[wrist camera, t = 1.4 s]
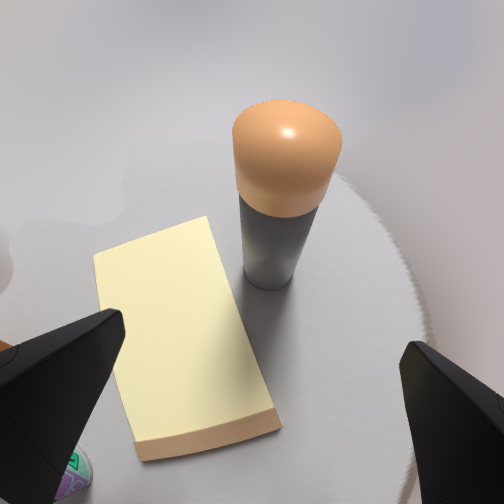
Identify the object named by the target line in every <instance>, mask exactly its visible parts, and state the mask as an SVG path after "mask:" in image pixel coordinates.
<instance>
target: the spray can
mask: <svg viewBox="0 0 504 504" xmlns="http://www.w3.org/2000/svg"><path fill="white" fill-rule="evenodd" d="M91 480H92V467H91V464H90V461H89V459H88V457H87V456H86V454H85V452H84V451H83V450H82V449H81V447H80V446H79V445H78V444H77V445H76V447H75V450H74V452H73V454H72V456H71V459H70V461H69V463H68V466H67V468H66V471H65V473H64V475H63V478H62V481H61V483H60V486H59V488H58V491H57V494H56V496H55V499H54V502H56V501H58V500H60V499H62V498H64V497H67V496H69V495H71V494H73V493H75V492H77V491H79V490H80V489H82V488H84V487H86V486H87V485H88V484H90V482H91ZM54 502H53V503H54Z"/></svg>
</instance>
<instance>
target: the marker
mask: <svg viewBox="0 0 504 504" xmlns="http://www.w3.org/2000/svg"><path fill="white" fill-rule="evenodd" d="M232 135H233V149H234V163H235V176H236V186H237V189H238V192H239V203H240V218H241V232H242V247H243V261H244V271H245V275H246V277H247V279H248V280H249V281H250V282H251V283H252V284H253V285H254V286H256V287H257V288H260V289H263V290H276V289H279V288H281V287H283V286H284V285H286V284H287V283H288V282H289V280H290V279H291V277H292V275H293V272H294V270H295V267H296V265H297V262H298V260H299V257H300V254H301V252H302V249H303V247H304V244H305V241H306V239H307V236H308V233H309V231H310V228H311V225H312V223H313V220H314V217H315V214H316V212H317V209H318V206H319V204H320V203H321V201H322V200H323V198H324V196H325V193H326V191H327V188H328V185H329V182H330V179H331V177H332V174H333V171H334V168H335V165H336V162H337V159H338V157H339V154H340V151H341V147H342V135H341V133H340V130H339V128H338V127H337V125H336V124H335V123H334V121H333V120H332V119H331V118H330V117H328V116H327V115H326V114H325V113H323V112H322V111H320V110H318V109H316V108H314V107H312V106H309V105H307V104H304V103H300V102H295V101H288V100H273V101H266V102H262V103H258V104H256V105H253V106H251V107H250V108H247V109H246V110H244V111H243V112H242V113H241V114H240V115H239V116H238V117H237V119H236V120H235V122H234V125H233V130H232Z"/></svg>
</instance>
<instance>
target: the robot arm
mask: <svg viewBox="0 0 504 504" xmlns="http://www.w3.org/2000/svg"><path fill="white" fill-rule="evenodd" d="M125 336H126V330H125V325H124V320H123V315H122V312H121V311H120V310H117V309H113V308H108V309H105V310H103V311H100V312H98V313H95V314H93V315H90V316H88V317H85V318H83V319H80V320H78V321H75V322H73V323H70V324H68V325H65V326H63V327H60V328H58V329H55V330H53V331H50V332H48V333H45V334H43V335H40V336H38V337H35V338H33V339H30V340H28V341H25V342H23V343H21V344H18V345H15V346H13V347H10V348H8V349H5V350H2V351H0V504H53V502H54V499H55V496H56V494H57V491H58V488H59V486H60V483H61V481H62V478H63V475H64V473H65V471H66V468H67V466H68V463H69V461H70V459H71V456H72V454H73V452H74V450H75V447H76V445H77V443H78V441H79V438H80V436H81V434H82V432H83V430H84V427H85V425H86V423H87V421H88V419H89V417H90V415H91V413H92V411H93V409H94V407H95V405H96V403H97V401H98V399H99V397H100V395H101V393H102V391H103V389H104V387H105V385H106V383H107V381H108V379H109V377H110V374H111V372H112V370H113V367H114V365H115V362H116V359H117V357H118V354H119V352H120V349H121V347H122V344H123V342H124V339H125ZM399 369H400V375H401V381H402V388H403V395H404V402H405V408H406V413H407V417H408V422H409V426H410V431H411V436H412V441H413V446H414V451H415V457H416V463H417V469H418V476H419V482H420V490H421V498H422V504H504V398H503V397H502V396H500V395H499V394H498V393H496V392H495V391H493V390H492V389H490V388H489V387H488V386H486V385H485V384H483V383H482V382H480V381H479V380H478V379H476V378H475V377H473V376H472V375H470V374H469V373H467V372H466V371H465V370H463V369H462V368H460V367H459V366H457V365H456V364H455V363H453V362H452V361H450V360H449V359H447V358H446V357H444V356H443V355H441V354H440V353H438V352H437V351H436V350H434V349H433V348H431V347H430V346H428V345H427V344H425V343H424V342H422V341H411V342H409V343H408V345H407V347H406V349H405V351H404V353H403V356H402V358H401V360H400V363H399Z"/></svg>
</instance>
